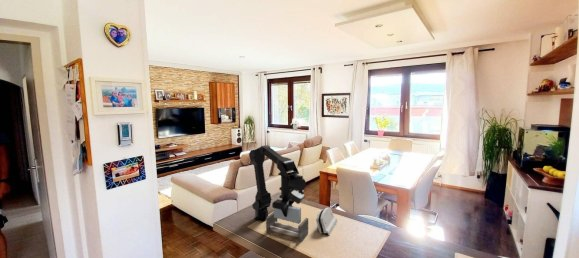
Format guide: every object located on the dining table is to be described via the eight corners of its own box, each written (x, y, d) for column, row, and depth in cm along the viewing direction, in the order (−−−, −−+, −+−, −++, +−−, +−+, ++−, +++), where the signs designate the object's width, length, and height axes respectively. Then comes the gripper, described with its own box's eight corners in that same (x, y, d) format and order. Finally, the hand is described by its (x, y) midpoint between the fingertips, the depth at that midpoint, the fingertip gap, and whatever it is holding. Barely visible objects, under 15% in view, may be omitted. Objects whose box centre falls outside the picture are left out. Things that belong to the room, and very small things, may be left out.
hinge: (329, 235, 119) (322, 216, 120) (320, 236, 121) (314, 217, 122) (337, 220, 134) (332, 203, 135) (329, 222, 136) (324, 204, 137)
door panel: (273, 217, 123) (273, 204, 122) (276, 215, 125) (276, 202, 124) (298, 223, 117) (298, 209, 116) (300, 221, 119) (301, 208, 118)
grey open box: (266, 232, 122) (266, 217, 121) (275, 225, 130) (275, 210, 129) (300, 242, 113) (300, 226, 112) (308, 233, 121) (308, 218, 120)
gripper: (293, 194, 107) (292, 228, 109) (309, 182, 123) (309, 211, 125) (271, 190, 112) (271, 222, 114) (290, 179, 129) (290, 207, 130)
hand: (286, 215), depth 121 cm, fingers closed on door panel, 2 cm apart
